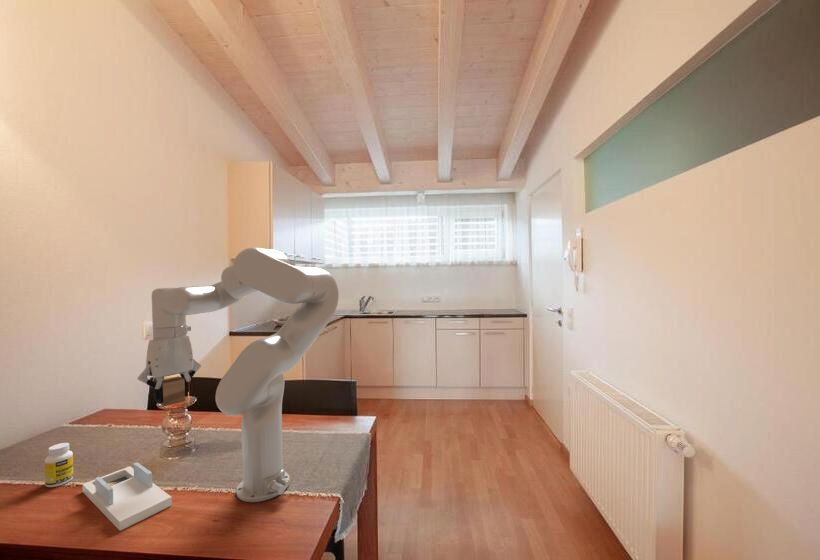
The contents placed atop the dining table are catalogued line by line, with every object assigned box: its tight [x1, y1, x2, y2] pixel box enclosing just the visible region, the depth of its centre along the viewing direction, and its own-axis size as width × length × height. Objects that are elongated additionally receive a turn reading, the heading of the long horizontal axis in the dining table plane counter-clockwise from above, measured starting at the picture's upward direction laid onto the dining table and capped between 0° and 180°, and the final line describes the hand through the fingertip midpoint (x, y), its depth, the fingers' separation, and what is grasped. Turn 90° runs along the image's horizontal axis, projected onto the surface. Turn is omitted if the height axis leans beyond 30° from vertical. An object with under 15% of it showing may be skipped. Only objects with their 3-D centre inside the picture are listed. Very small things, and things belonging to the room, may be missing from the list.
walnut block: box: [160, 375, 186, 407], centre depth 96 cm, size 5×5×6 cm
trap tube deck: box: [82, 462, 173, 531], centre depth 87 cm, size 26×10×6 cm, turn 56°
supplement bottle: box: [44, 442, 74, 488], centre depth 95 cm, size 5×5×10 cm
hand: (172, 398), depth 96 cm, fingers closed on walnut block, 5 cm apart
